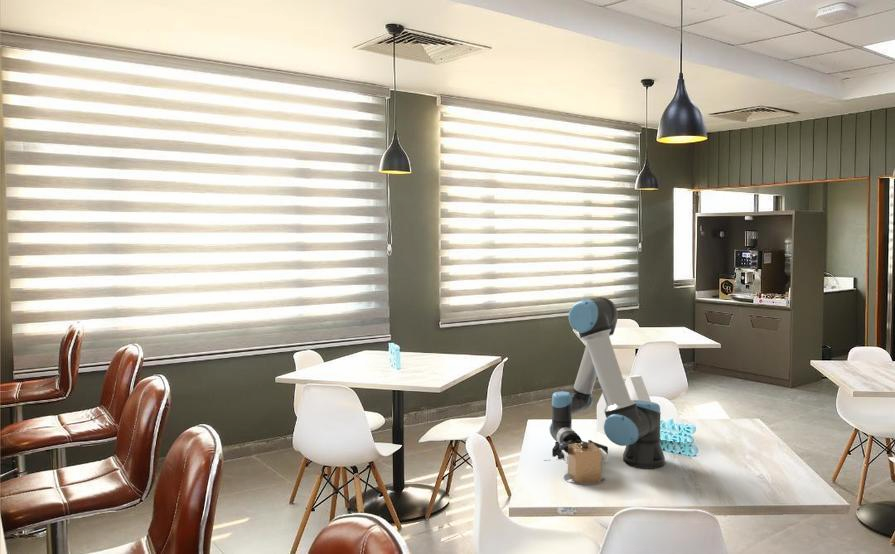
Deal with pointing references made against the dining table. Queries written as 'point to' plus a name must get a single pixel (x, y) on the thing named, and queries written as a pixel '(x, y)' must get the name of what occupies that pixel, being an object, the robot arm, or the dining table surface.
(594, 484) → the plate
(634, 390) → the milk carton
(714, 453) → the dining table surface
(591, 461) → the wooden cube with knob
